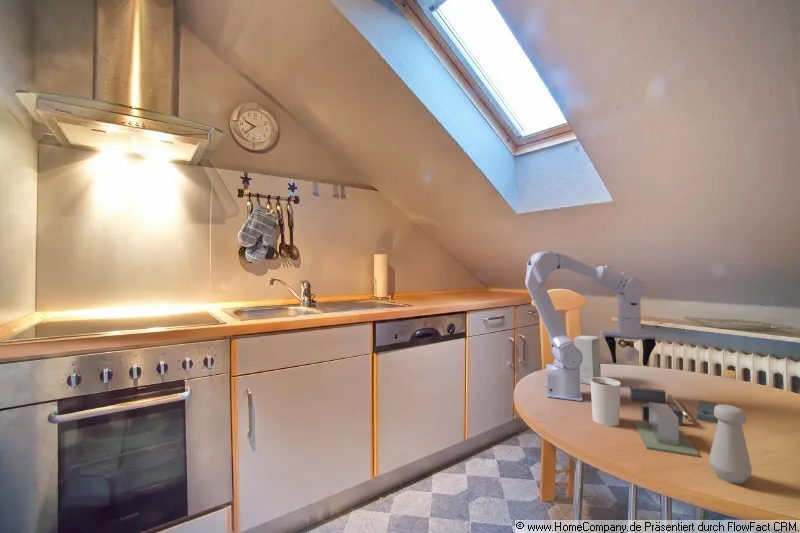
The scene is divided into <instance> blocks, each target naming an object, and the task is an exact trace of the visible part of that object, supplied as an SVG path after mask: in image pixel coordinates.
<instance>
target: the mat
mask: <svg viewBox="0 0 800 533" xmlns="http://www.w3.org/2000/svg"><path fill="white" fill-rule="evenodd" d="M633 424H634V427H635V429H636V430H637V433H638V434H639V436H640V438H641V440H642V442H643V444H644V446H645V448H646V449H647V450H653V451H660V452H667V453H673V454H678V455H684V456H685V455H686V456H689V457H690V456H691V457H697V458H700V454H699V453H698V451H697V450H696V448H694V447H693V445H692V444H691V442H690V441H689V440H688V439H687V436H685V435H684V433H683V432H682V430H681V429H680V428H679V446H675V445H669V444H662V443H658V441H657V440H656V438H655V436H654V435H653V433H652V431H651V430H650V428H649V423H648V422H639V421H638V422H637V421H633Z"/></svg>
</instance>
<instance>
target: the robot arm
mask: <svg viewBox="0 0 800 533" xmlns="http://www.w3.org/2000/svg"><path fill="white" fill-rule="evenodd" d="M564 269H565V270H568V271H571V272H574V273H577V274H579V275H582V276H585V277H588V278H590V280H591V283H592V284H594V285H596V286H599V287H602V288H604V289H607V290H609V291H612V292H614V293H615V294H617V295H616V296H617V298H616V299H617V330H600V338H601V339H604V340H605V342H606V345H607V347H608V349H609V351H610V355H611V359H612V363H613V364H617V354H616V353H617V352H616V351H617V349H616V348H617V342H616V339H620V340H638V341H639V340H641V344H642V365H643V366H645V367H648V363H649V359H650V356H651V354H652V352H653V351H654V349H655V348H656V346H657V342H660V340H661V336H660V335H661V334H659V333H657V332H646V331H641V329H642V328H641V326H642V325H641V324H642V323H641V322H642V320H641V316H642V315H641V314H642V313H641V298H642V297H641V296H642V295H643V294H644V293H645V290H646V287H645V286H644V283H643V282H642V281H641V279H640V278H637V277H636V276H627V275H628V274H627V273H626V272H622V271H621V272H619V271H617V270H614V269H612V267H611V266H609V265H604V266H603V265H599V266H597V267H594V266H593V265H589V264H586V263H584V262H583V261H580V260H578V259H575V258H574V257H571V256H568V255H565V254H562V253H558V252H554V251H552V250H543V251H536V252H534V253H532V254H531V256H530V257H529V259H528V261H527V263H526V275H525V280H524V281H525V282H524V284H525V287H526V289H527V292H528V293H529V294H528V295H529V296H530V298H531V300H532V302H533V304H534V306H535V309H536V312H537V313H538V316H539V318H540V320H541V322H542V324H543V326H544V328H545V331H546V334H547V335H548V337H549V339H548V340H549V341H548V342H549V343H550V352H551V355H552V356H553V358H554V359H553V362H552V363H551V364H549V363H547V364H546V382H545V389H546V397H548V398H554V399H562V400H570V401H578V402H583V395H582V391H581V383H580V364H581V363H582V360H583V355H582V353H581V351H580V350H579V349H578V348H576V347H575V345H574V341H573V340H572V339H571V337H570V336H569V335H568V332H567V331H566V329H565V326H564V325H563V323H562V320H561V319H560V315H559V314H558V311H557V310H556V308H555V304H554V303H553V301H552V298H551V297H550V294H549V292H548V290H547V289H546V288H547V287H546V286H545V284H546V282H547V280H548V279H549V277H550V276H551V274H552V273H554V272H555V270H564Z"/></svg>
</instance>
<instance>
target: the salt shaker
mask: <svg viewBox="0 0 800 533" xmlns="http://www.w3.org/2000/svg"><path fill="white" fill-rule="evenodd" d="M714 415H715V417H716V418H717V419H718V423H717V424H716V428H715V432H714V437H713V440H712V444H711V448H710V453H709V456H708V462H709V464H710V467H711V468H712V469H713V471H714V473H715V475H716V476H717V478H718V479H720V480H723V481H725V482H727V483H730V484H735V485H741V484H742V485H743V484H745V483H746V482H747V480H748V479H749V478H750V477H751V475H752V464H751V459H750V455H749V452H748V447H747V443H746V442H747V441H746V438H745V433H744V430H743V429H744V428H743V424H745V423H746V418H747V417H746V412H745V411H744V410H743V409H741V408H739V407H738V406H734V405H730V404H719V405H717V406H715V408H714Z"/></svg>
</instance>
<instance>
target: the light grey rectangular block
mask: <svg viewBox="0 0 800 533" xmlns="http://www.w3.org/2000/svg"><path fill="white" fill-rule="evenodd" d="M648 405H649V421H648V424H649V428H650V430H651V431H652V433H653V435H654V436H655V438H656V440H657V441H658V443H662V444H669V445H675V446H679V429H680V428H679V425H678V417H677V416H676V414H675V413H674V412H673V411H672V410H671V408H670V406H669V404H667V403H666V404H660V403H652V402H649V403H648Z"/></svg>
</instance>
